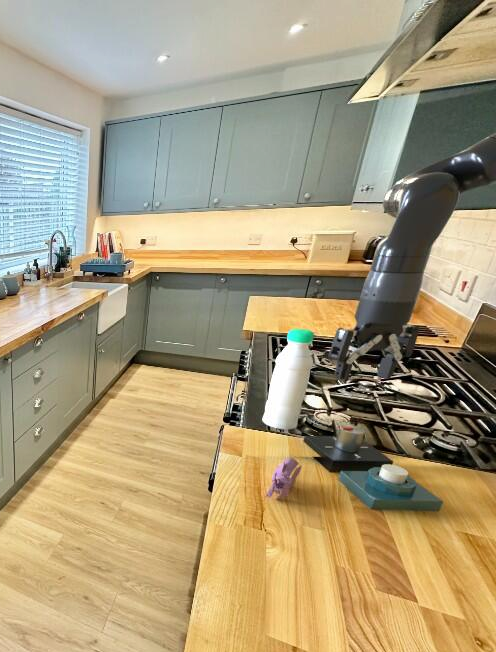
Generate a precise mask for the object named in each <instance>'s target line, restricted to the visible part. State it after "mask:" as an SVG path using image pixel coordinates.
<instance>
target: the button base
mask: <svg viewBox="0 0 496 652" xmlns="http://www.w3.org/2000/svg"><path fill="white" fill-rule="evenodd" d="M380 470H381V467H374V468H371V469H369V470H368V471H341V472H340V473H339V476H338V478H337V481H339V482H340V483H341V484H342V485H343V486H344V487H345V488H347V490H349V492H351V493H352V494H353V495H354V496H355V497H356V498H358V499H359V501H361V502H362V503H363V504H364V505H365V506H367V508H369V510H381V511H382V510H384V511H418V512H440V510H441V508H442V506H443V504H444V500H442V499H441V498H439V497H438V496H437V495H435V494H434V493H433V492H431V491H430V490H428V489H427V488H426V487H424V486H423V485H421V484H420V483H419V482H417V480H416V479H414V478H413V477H412V476H411V475H409V474H408V476H407V479H406V481H405V483H404V484H396V483H392V482H388V481H386V480H384V479H382V478H380V477H379V473H380Z"/></svg>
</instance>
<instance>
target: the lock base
mask: <svg viewBox="0 0 496 652" xmlns="http://www.w3.org/2000/svg"><path fill="white" fill-rule="evenodd" d="M336 438H337V435H335V436H334V435H304V437H303V440H302V442H303V443H304V444H306V446H308V447H309V448H310V449H311V450H312V451H313V452H315V453H316V454H317V456H312V458H313V459H314V460H315V461H316V462H317V463H319V464H320V465H321V467H323V468H324V469H325V470H326V471H327V472H329V473H333V474H335V473H336V474H338V473H339V474H340V472H341V471H368V470H369V469H371V468H374V467H382V465H385V464H390V465H394V460H392V459H391V458H389V457H388V456H387V455H385V454H384V453H383V452H381V451H380V450H378V449H376V448H375V447H374V446H372V445H371V444H370V443H368V442H367V441H365V440H364V439H363V440H362V443H361V446H360V449H359V451H358V452H354V453H352V452H346V451H342V450H340V449H338V448H336V447H335V442H336Z"/></svg>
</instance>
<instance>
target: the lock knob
mask: <svg viewBox="0 0 496 652" xmlns="http://www.w3.org/2000/svg"><path fill="white" fill-rule="evenodd" d="M365 434H366V431H365V429H363V428H362V427H359V426H357V425H352V424H341V425H340V426H339V429H338V432H337V435H336V436H337V438H336V442H335V447H336V448H338V449H340V450H342V451H346V452H352V453H354V452H358V451H359V449H360V446H361V443H362V440H364V437H365Z"/></svg>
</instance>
